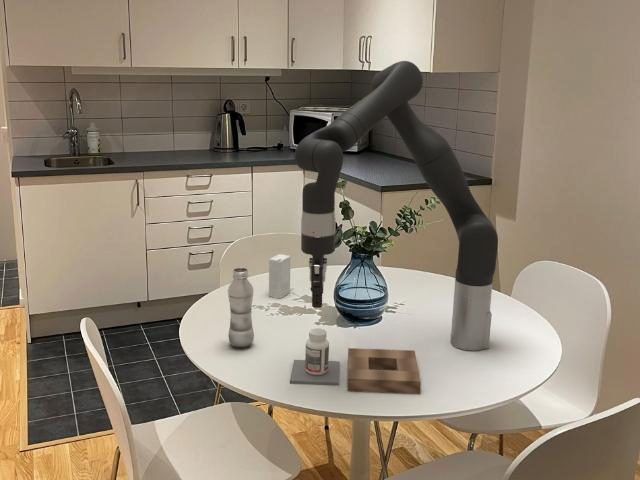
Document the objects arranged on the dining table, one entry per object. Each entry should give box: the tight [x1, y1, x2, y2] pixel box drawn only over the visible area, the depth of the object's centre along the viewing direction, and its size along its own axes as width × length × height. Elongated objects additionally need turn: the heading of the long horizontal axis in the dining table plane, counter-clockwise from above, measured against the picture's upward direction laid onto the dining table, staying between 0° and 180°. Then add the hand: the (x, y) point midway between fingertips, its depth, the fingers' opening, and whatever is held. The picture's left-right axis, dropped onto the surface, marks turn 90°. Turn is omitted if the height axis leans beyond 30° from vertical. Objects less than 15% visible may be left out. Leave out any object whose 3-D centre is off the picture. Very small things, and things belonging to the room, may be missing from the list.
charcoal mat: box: [289, 359, 341, 386], centre depth 165 cm, size 11×11×1 cm
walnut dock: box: [347, 347, 422, 395], centre depth 164 cm, size 16×16×3 cm
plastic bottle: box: [227, 267, 255, 348], centre depth 176 cm, size 6×7×20 cm
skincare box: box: [268, 253, 292, 299], centre depth 213 cm, size 6×4×12 cm
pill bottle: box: [304, 327, 330, 375], centre depth 163 cm, size 5×5×10 cm
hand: (317, 300), depth 159 cm, fingers open, 8 cm apart
